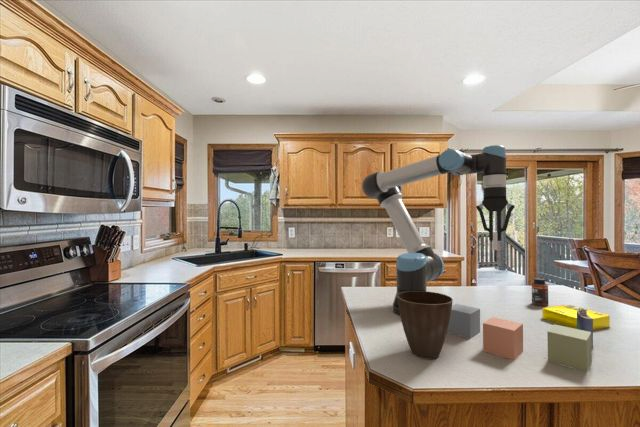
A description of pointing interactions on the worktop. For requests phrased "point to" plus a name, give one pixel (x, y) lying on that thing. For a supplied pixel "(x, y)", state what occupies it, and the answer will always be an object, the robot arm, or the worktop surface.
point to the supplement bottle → (539, 292)
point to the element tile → (573, 316)
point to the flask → (585, 322)
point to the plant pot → (425, 321)
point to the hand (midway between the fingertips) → (495, 249)
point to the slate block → (464, 321)
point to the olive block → (570, 347)
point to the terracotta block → (503, 337)
